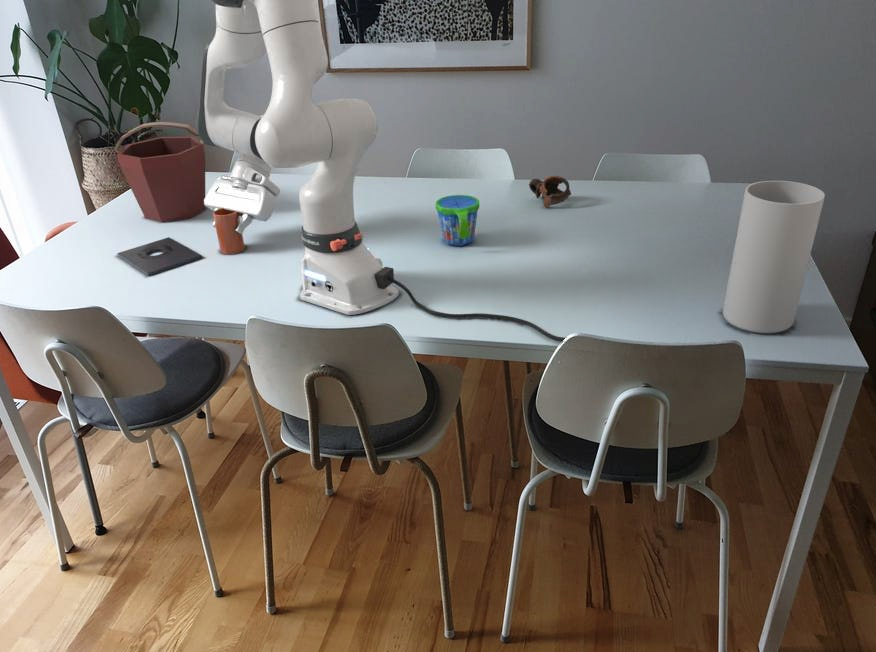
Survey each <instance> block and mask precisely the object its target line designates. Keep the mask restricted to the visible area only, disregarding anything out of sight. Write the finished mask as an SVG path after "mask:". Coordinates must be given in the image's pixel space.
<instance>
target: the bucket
mask: <svg viewBox="0 0 876 652" xmlns="http://www.w3.org/2000/svg"><path fill="white" fill-rule="evenodd" d="M153 127H164V128H165V127H167V128H174V129H181V130H185V131H186V132H188V133H189V134H190V135H193V136H160V137H156V138H155V137H154V138H151V139H146V140H142V141H138V142H132V143H129V144H126V145H125V146H124V147H123V148H122V147H121V145H122V143H123V142H124V140H125V139H127V138H128V137H130V135H133V134H134V133H136V132H138V131H140V130H142V129H146V128H153ZM196 137H200V136H199V134H198V132H197V130H196V128H194V127H193V126H191V124H189V123H188V124H187V123H179V122H173V121H172V122H171V121H170V122H169V121H156V122H154V121H153V122H148V123H143V124H142V123H141V124H140V125H138V126H136V127H135V128H132V129H131V130H130V131H128V132H127V133H124V134H123V135H122V136H121V137H120V138H119V139H118V141H117V142H116V144H115V146H114V151H115V152H116V153H117V154H116V156H117V161H118V164H119V167H120V169H121V171H122V174H123V175H124V177H125V180H126V181H127V184H128V185H129V188H130V190H131V192H132V194H133V196H134V198H135V200H136V203H137V205H138V207H139V208H140V210H141V212H142V214H143V216H144V218H145V219H146V220H147V219H148V220H151V221H154V222H159V223H168V222H174V221H182V220H189V219H191V218H193V217H195V216H197V215H198V214H201V213H202V212H204V211H205V210H206V208H207V207H206V206H205V205H204V199H205V197H206V153H205V148H204V147H205V145H206V144H205V143H204V142H203V141H202V139H201V138H200V139H201V140H198V139H197V138H196Z"/></svg>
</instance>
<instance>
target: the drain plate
mask: <svg viewBox="0 0 876 652" xmlns="http://www.w3.org/2000/svg"><path fill="white" fill-rule="evenodd" d="M157 252H162V253H159V254H155V255H150V254H152V253H157ZM116 254H117V257H119V258H120V259H122V260H123V261H125V262H126V263H128V264H129V265H131V266H132V267H134V268H135V269H137V270H138V271H140V272H141V273H143V274H144V275H146V276H148V277H150V276H153V275H157V274H159V273H162V272H165V271H169V270H172V269H174V268H177V267H180V266H183V265H186V264H189V263H192V262H194V261H198V260H200V259H203V256H202V254H200V253H198V252H196V251H195V250H192V249H191V248H189V247H187V246H185V245H184V244H182V243H180V242H178V241H176V240H175V239H173V238H171V237H169V236H168V237H165V238H162V239H159V240H155V241H152V242H149V243H146V244H143V245H138V246H136V247H133V248H132V247H131V248H129V249H126V250H123V251H119V252H117V253H116Z"/></svg>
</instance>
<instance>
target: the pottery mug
mask: <svg viewBox="0 0 876 652" xmlns="http://www.w3.org/2000/svg"><path fill="white" fill-rule="evenodd" d="M560 184H564V185H565V189H564V190H561V189H560V188H559V186H560ZM528 187H529V189H530V191H531V192H532V193H533V194H534V195H535V197H536V199H539V198H540V197H541V198H542V199H543V202H542V206H543V207H545V208H547V209H548V208H549V207H550V206H554V205H558V204H561V203H564V202H565V200H568V198H569V197H570V196H572V192H571V189H570V188H571V187H570V183H569V181H568V180H567V179H566V178H565V177H562V176H560V175H550V176H546V178H544V179H543V180H541V179H539V178H531V180H530V181H529V184H528Z"/></svg>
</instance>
